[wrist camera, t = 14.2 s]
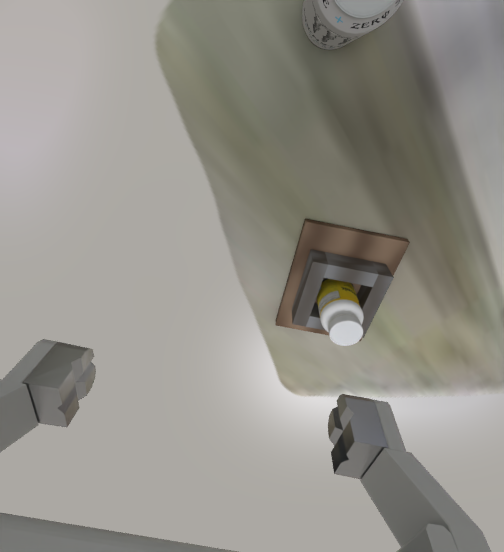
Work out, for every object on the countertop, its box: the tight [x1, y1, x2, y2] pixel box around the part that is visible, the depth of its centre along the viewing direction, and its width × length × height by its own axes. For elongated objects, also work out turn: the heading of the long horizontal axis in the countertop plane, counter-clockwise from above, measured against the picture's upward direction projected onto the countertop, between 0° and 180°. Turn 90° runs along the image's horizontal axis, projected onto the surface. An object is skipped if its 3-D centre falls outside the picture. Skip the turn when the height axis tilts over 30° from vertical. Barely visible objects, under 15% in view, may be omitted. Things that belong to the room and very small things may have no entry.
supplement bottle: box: [316, 278, 364, 346], centre depth 42 cm, size 5×5×10 cm
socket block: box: [276, 219, 410, 341], centre depth 45 cm, size 14×18×4 cm
